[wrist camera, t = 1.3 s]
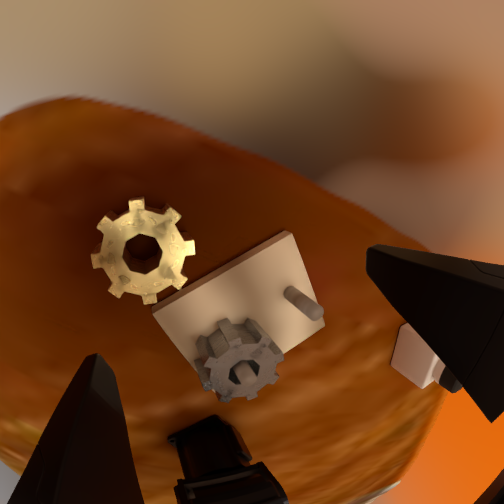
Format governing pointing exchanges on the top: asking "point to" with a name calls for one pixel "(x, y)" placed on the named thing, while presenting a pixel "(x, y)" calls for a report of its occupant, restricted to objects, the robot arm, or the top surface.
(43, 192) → the top surface
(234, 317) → the birch gear board
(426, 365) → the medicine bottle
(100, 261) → the brass gear
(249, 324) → the grey gear
